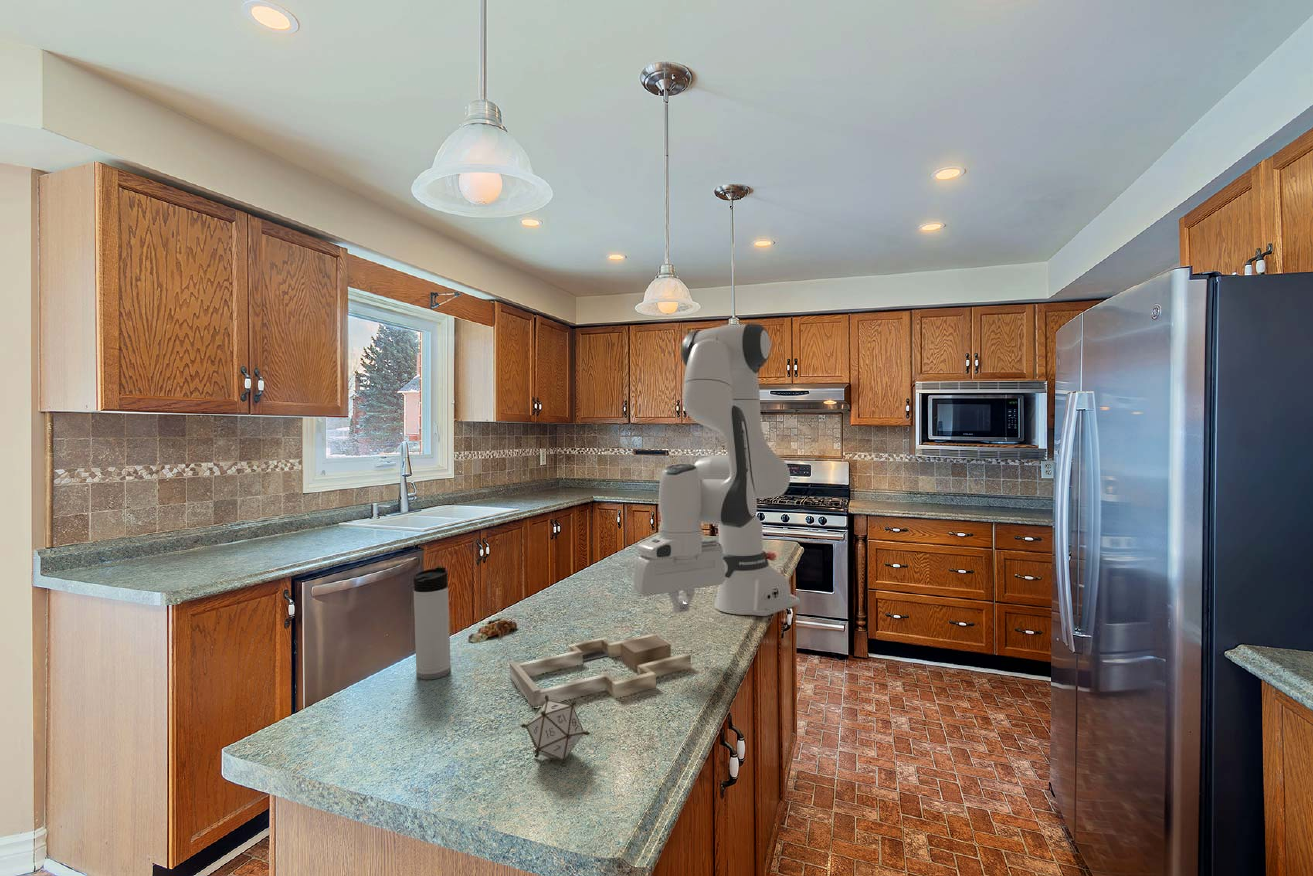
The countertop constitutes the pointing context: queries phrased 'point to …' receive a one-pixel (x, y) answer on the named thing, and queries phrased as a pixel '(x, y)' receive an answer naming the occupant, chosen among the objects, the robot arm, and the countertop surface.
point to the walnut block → (644, 651)
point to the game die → (555, 730)
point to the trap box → (596, 683)
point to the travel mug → (432, 624)
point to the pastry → (493, 630)
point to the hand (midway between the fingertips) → (681, 611)
